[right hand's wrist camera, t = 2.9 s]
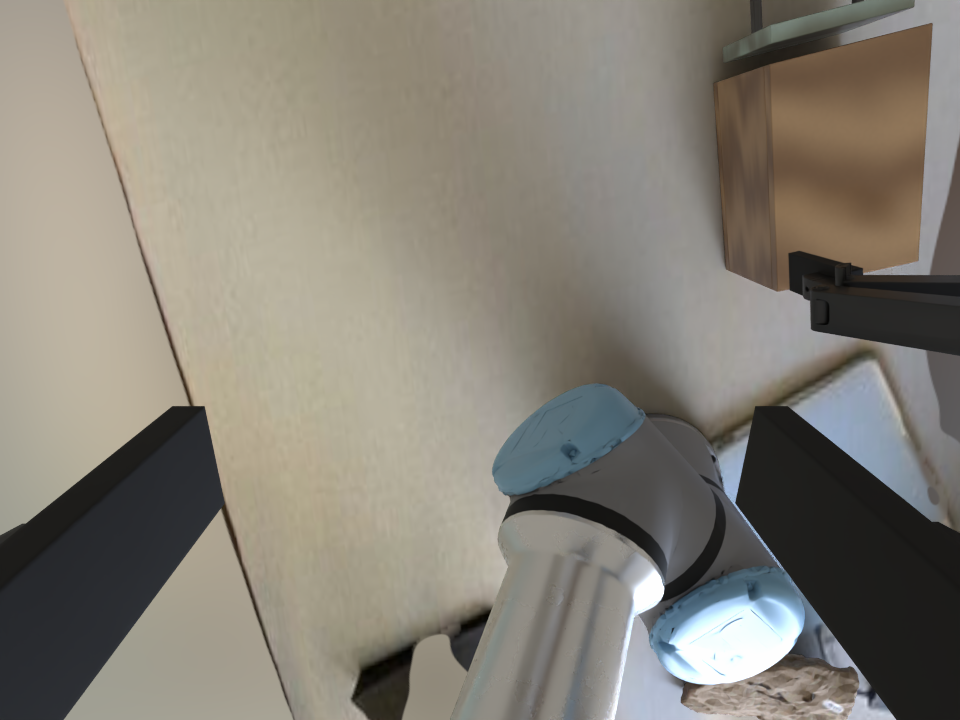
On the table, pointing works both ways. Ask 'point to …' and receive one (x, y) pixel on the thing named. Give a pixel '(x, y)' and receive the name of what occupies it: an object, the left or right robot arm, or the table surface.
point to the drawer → (809, 26)
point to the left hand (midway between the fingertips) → (893, 247)
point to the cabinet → (825, 157)
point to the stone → (781, 692)
